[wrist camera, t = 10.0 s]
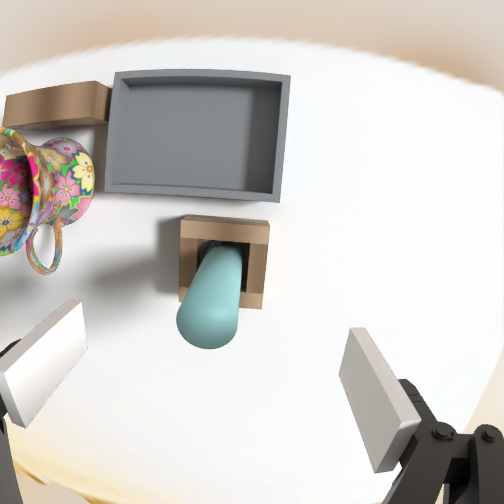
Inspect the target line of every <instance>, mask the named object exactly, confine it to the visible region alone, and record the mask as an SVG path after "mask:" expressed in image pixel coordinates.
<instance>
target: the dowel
mask: <svg viewBox="0 0 504 504" xmlns="http://www.w3.org/2000/svg"><path fill="white" fill-rule="evenodd" d="M242 261H243V253H242V250H241V248H240V246H239V245H238V244H237V243H236V242H233V241H220V240H217V241H215V242H213V243H212V244H211V245H210V247H209V249H208V251H207V253H206V255H205V257H204V259H203V261H202V263H201V265H200V267H199V269H198V271H197V273H196V275H195V277H194V279H193V281H192V283H191V285H190V287H189V289H188V291H187V293H186V295H185V297H184V299H183V301H182V304H181V306H180V308H179V310H178V312H177V317H176V322H177V327H178V330H179V332H180V334H181V335H182V337H183V338H184V339H185V340H186V341H187V342H189V343H190V344H192V345H194V346H196V347H199V348H203V349H216V348H219V347H222V346H224V345H226V344H227V343H229V342H230V341H231V340H232V338H233V337H234V335H235V333H236V330H237V324H238V311H239V299H240V286H241V273H242Z"/></svg>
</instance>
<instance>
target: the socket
mask: <svg viewBox="0 0 504 504" xmlns="http://www.w3.org/2000/svg"><path fill="white" fill-rule="evenodd" d="M269 232H270V226H269V223H268V221H265V220H254V219H241V218H229V217H216V216H202V215H187V216H185V217H184V218H183V219H182V220H181V230H180V261H179V302H182V301H183V299H184V297H185V295H186V293H187V291H188V289H189V287H190V285H191V283H192V281H193V279H194V277H195V275H196V273H197V271H198V269H199V267H200V265H201V254H202V239H208V240H220V241H233V242H245V243H250V245H249V256H248V268H247V279H246V280H241V286H240V299H239V308H251V309H262V300H263V290H264V281H265V271H266V262H267V252H268V242H269Z"/></svg>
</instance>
